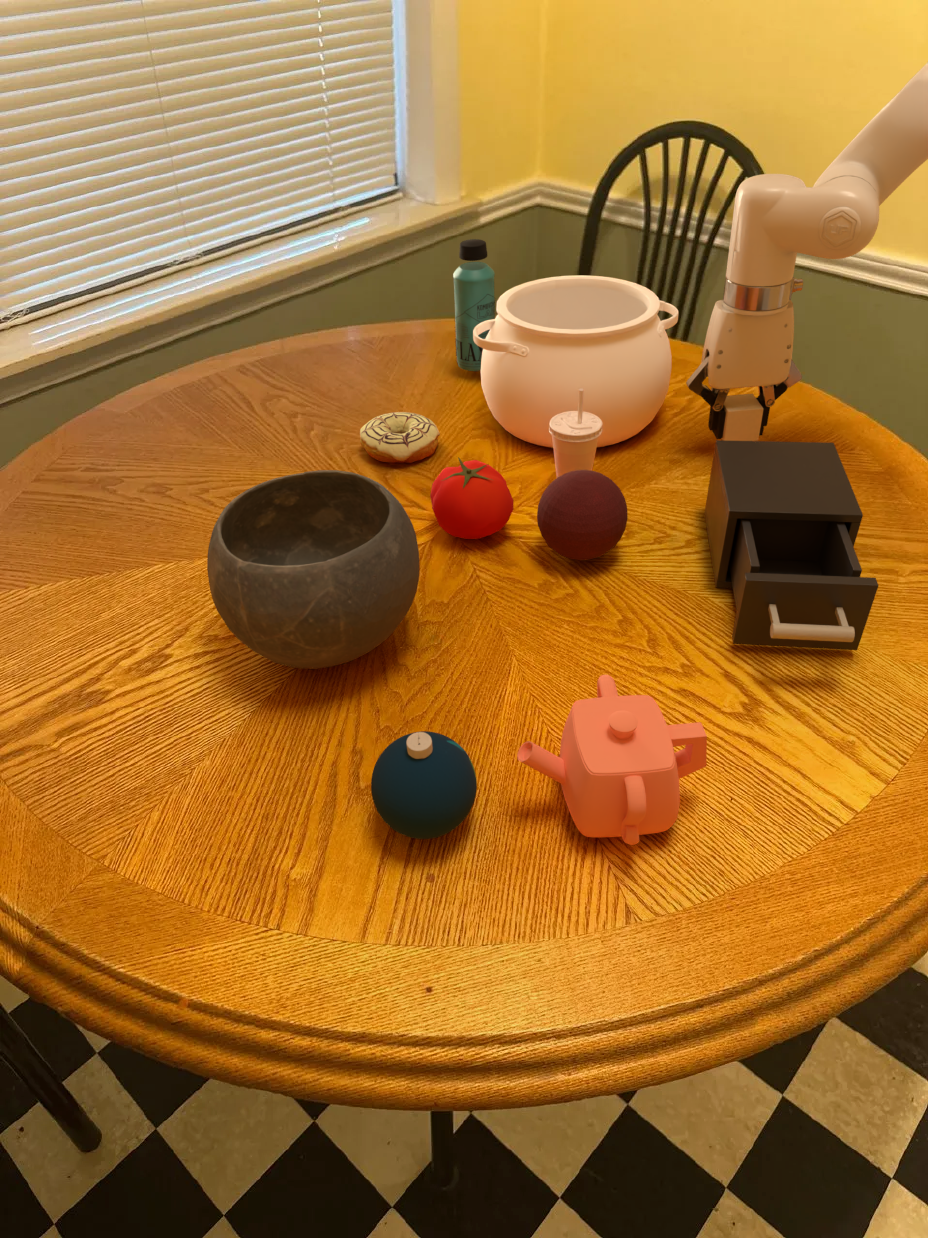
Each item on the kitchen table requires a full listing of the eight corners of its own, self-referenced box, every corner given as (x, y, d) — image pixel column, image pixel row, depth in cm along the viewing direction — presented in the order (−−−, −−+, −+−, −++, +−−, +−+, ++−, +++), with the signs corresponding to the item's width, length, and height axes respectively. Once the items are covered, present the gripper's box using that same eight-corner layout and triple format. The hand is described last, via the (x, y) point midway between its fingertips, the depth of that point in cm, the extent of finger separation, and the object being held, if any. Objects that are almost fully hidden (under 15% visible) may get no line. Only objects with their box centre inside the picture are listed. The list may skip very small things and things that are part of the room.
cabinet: (840, 593, 91) (863, 515, 85) (715, 588, 93) (729, 510, 86) (814, 516, 102) (833, 442, 96) (704, 513, 104) (715, 439, 98)
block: (748, 424, 115) (752, 393, 112) (758, 440, 112) (763, 408, 109) (714, 427, 115) (718, 396, 112) (723, 443, 112) (728, 411, 109)
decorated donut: (409, 476, 114) (406, 450, 111) (347, 456, 119) (343, 431, 116) (453, 442, 120) (452, 417, 118) (392, 425, 125) (390, 400, 123)
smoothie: (578, 511, 105) (583, 405, 96) (537, 494, 109) (538, 390, 100) (608, 489, 109) (616, 385, 100) (568, 473, 112) (571, 371, 103)
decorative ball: (533, 529, 103) (534, 455, 96) (617, 525, 103) (623, 451, 96) (540, 580, 95) (541, 503, 89) (630, 576, 95) (638, 498, 89)
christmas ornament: (483, 855, 68) (478, 773, 62) (377, 865, 68) (361, 783, 61) (474, 773, 74) (469, 691, 68) (377, 782, 74) (363, 700, 68)
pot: (502, 474, 113) (500, 354, 102) (456, 391, 133) (450, 283, 122) (704, 441, 117) (722, 322, 107) (630, 365, 137) (639, 259, 127)
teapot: (512, 806, 72) (510, 727, 65) (601, 728, 78) (607, 648, 72) (626, 890, 65) (636, 810, 59) (713, 797, 71) (730, 716, 65)
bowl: (413, 565, 98) (400, 447, 89) (439, 688, 83) (428, 562, 73) (233, 590, 96) (201, 472, 87) (226, 721, 81) (186, 595, 71)
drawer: (867, 680, 80) (890, 615, 74) (737, 673, 81) (751, 608, 76) (830, 566, 93) (847, 504, 88) (719, 562, 95) (730, 501, 89)
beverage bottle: (448, 375, 138) (440, 244, 125) (472, 360, 142) (466, 232, 129) (482, 384, 134) (478, 250, 122) (505, 368, 139) (503, 238, 126)
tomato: (456, 500, 109) (452, 441, 103) (529, 520, 104) (529, 459, 99) (416, 538, 102) (410, 477, 97) (492, 561, 98) (490, 498, 93)
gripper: (816, 276, 105) (790, 414, 116) (677, 287, 105) (665, 425, 116) (840, 297, 99) (810, 440, 110) (693, 309, 99) (678, 451, 110)
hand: (736, 431), depth 113 cm, fingers closed on block, 4 cm apart
